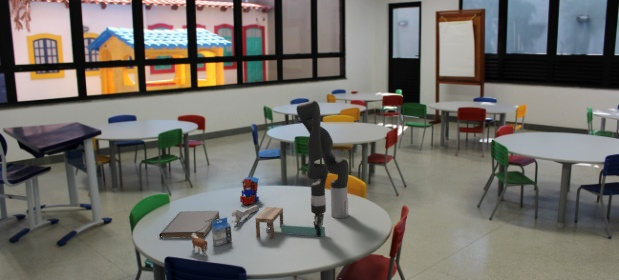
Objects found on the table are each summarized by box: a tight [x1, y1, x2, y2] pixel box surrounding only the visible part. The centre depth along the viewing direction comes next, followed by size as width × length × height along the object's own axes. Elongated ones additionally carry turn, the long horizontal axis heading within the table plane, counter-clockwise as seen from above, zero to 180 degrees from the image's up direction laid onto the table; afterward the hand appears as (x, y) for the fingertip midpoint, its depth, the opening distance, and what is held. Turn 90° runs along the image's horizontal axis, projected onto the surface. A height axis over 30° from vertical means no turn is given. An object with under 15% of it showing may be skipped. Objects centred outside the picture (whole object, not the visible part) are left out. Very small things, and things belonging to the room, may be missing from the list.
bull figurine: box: [189, 233, 208, 256], centre depth 257 cm, size 4×13×8 cm, turn 41°
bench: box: [255, 206, 284, 240], centre depth 280 cm, size 9×18×10 cm, turn 166°
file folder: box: [158, 210, 220, 239], centre depth 292 cm, size 33×4×24 cm
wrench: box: [231, 205, 259, 224], centre depth 304 cm, size 8×2×30 cm
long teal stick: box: [280, 223, 326, 237], centre depth 276 cm, size 23×2×4 cm, turn 76°
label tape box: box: [211, 217, 233, 247], centre depth 266 cm, size 9×4×12 cm, turn 126°
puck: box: [265, 226, 275, 234], centre depth 281 cm, size 4×4×2 cm
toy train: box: [239, 176, 260, 205], centre depth 330 cm, size 10×16×15 cm, turn 172°
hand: (319, 235), depth 274 cm, fingers closed
